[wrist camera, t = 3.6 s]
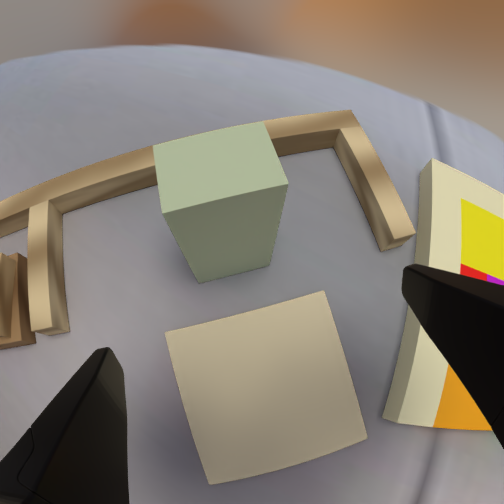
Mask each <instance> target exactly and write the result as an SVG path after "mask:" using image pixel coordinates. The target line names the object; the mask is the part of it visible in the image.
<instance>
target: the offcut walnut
mask: <svg viewBox="0 0 504 504" xmlns="http://www.w3.org/2000/svg"><path fill="white" fill-rule="evenodd" d="M8 257H10V258H11V259H13V260H15V261H16V268H15V277H14V288H13V300H12V319H11V338H7V337H0V350H1V349H7V348H13V347H19V346H24V345H30V344H35V343H36V338H35V332H33V331H31V323H30V312H29V297H28V262H27V258H25V257H24V256H22V255H21V254H19V253H15V254H12V255H10V256H8Z"/></svg>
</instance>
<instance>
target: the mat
mask: <svg viewBox="0 0 504 504" xmlns="http://www.w3.org/2000/svg"><path fill="white" fill-rule="evenodd" d="M165 335H166V340H167V344H168V348H169V353H170V357H171V361H172V365H173V369H174V373H175V377H176V380H177V384H178V388H179V391H180V395H181V399H182V402H183V406H184V409H185V413H186V416H187V419H188V423H189V426H190V429H191V432H192V436H193V439H194V442H195V445H196V448H197V451H198V454H199V457H200V460H201V463H202V466H203V469H204V472H205V474H206V477H207V480H208V483H209V485H213V484H219V483H224V482H230V481H235V480H239V479H244V478H248V477H253V476H257V475H261V474H265V473H269V472H273V471H276V470H280V469H283V468H287V467H290V466H294V465H297V464H300V463H303V462H306V461H310V460H313V459H315V458H318V457H321V456H324V455H327V454H330V453H332V452H335V451H338V450H340V449H343V448H346V447H348V446H351V445H353V444H355V443H358V442H360V441H363V440H365V439H367V438H368V437H367V433H366V429H365V426H364V422H363V418H362V414H361V411H360V407H359V403H358V400H357V396H356V393H355V389H354V386H353V382H352V379H351V375H350V372H349V368H348V365H347V362H346V358H345V355H344V352H343V348H342V345H341V342H340V339H339V335H338V332H337V329H336V326H335V323H334V320H333V316H332V313H331V310H330V307H329V304H328V301H327V298H326V295H325V292H324V290H323V291H320V292H316V293H313V294H310V295H306V296H303V297H299V298H296V299H292V300H289V301H285V302H282V303H278V304H275V305H271V306H267V307H264V308H260V309H256V310H253V311H249V312H245V313H241V314H238V315H234V316H230V317H226V318H222V319H218V320H214V321H210V322H206V323H202V324H198V325H194V326H190V327H185V328H181V329H177V330H173V331H168V332H165Z"/></svg>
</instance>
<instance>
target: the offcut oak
mask: <svg viewBox="0 0 504 504" xmlns="http://www.w3.org/2000/svg"><path fill="white" fill-rule="evenodd" d="M15 268H16V261H15V260H13V259H11V258H10V257H8V256H6V255H4V254H3V253H0V337H7V338H11V319H12V300H13V288H14V277H15Z"/></svg>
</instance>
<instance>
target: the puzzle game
mask: <svg viewBox="0 0 504 504" xmlns="http://www.w3.org/2000/svg"><path fill="white" fill-rule="evenodd" d="M414 264H420V265H424V266H428V267H433V268H437V269H441V270H445V271H449V272H453V273H457V274H461V275H465V276H469V277H473V278H477V279H481V280H485V281H489V282H492V283H496V284H500V285H504V194H502V193H500V192H499V191H497V190H495V189H493V188H491V187H490V186H488V185H486V184H484V183H482V182H480V181H478V180H476V179H474V178H473V177H471V176H469V175H467V174H465V173H463V172H461V171H459V170H457V169H454V168H452V167H450V166H448V165H446V164H444V163H442V162H440V161H437V160H435V159H433V158H431V160H430V161H429V162H428V163H427V165H426V166H425V167H424V169H423V170H422V171H421V172H420V188H419V212H418V228H417V240H416V251H415V260H414ZM382 418H383V419H386V420H389V421H393V422H396V423H401V424H409V425H417V426H427V427H437V428H449V429H465V430H492V429H491V426H490V425H489V423H488V422H487V420H486V419H485V417H484V415H483V414H482V412H481V411H480V409H479V408H478V406H477V405H476V403H475V402H474V400H473V399H472V397H471V395H470V394H469V392H468V391H467V390H466V388H465V387H464V385H463V384H462V382H461V381H460V379H459V378H458V376H457V375H456V373H455V372H454V371H453V369H452V368H451V366H450V365H449V364H448V362H447V361H446V359H445V358H444V357H443V355H442V354H441V352H440V351H439V350H438V348H437V347H436V346H435V344H434V343H433V342H432V340H431V339H430V338H429V336H428V335H427V333H426V332H425V330H424V329H423V327H422V326H421V324H420V322H419V321H418V319H417V318H416V316H415V314H414V313H413V311H412V309H411V308H410V306H409V305H408V310H407V315H406V321H405V326H404V332H403V337H402V341H401V346H400V351H399V355H398V359H397V364H396V368H395V372H394V376H393V380H392V384H391V387H390V391H389V395H388V398H387V402H386V405H385V409H384V412H383V415H382Z"/></svg>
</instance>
